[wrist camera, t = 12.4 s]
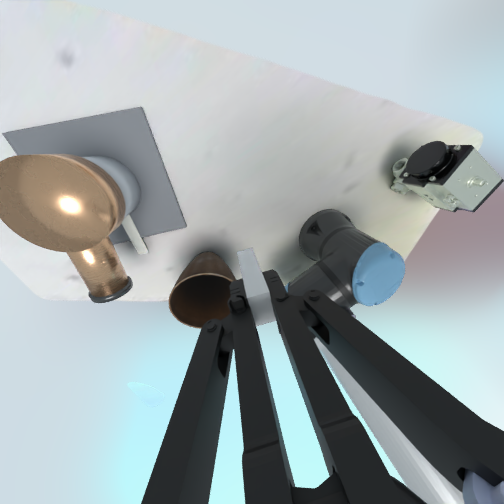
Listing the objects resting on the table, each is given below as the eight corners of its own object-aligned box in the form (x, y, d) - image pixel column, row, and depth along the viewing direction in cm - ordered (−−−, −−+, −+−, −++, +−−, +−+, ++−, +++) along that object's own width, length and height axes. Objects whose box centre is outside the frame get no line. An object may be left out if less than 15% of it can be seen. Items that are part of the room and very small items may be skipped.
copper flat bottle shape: (8, 157, 28) (-47, 159, 22) (107, 150, 29) (81, 150, 24) (85, 284, 39) (62, 309, 33) (154, 274, 41) (143, 296, 35)
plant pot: (244, 270, 57) (254, 309, 43) (201, 293, 58) (197, 338, 44) (217, 229, 50) (218, 260, 36) (168, 256, 51) (151, 297, 37)
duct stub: (191, 240, 50) (187, 261, 40) (96, 263, 48) (68, 291, 39) (142, 107, 36) (117, 93, 27) (7, 133, 35) (-72, 127, 25)
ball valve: (368, 174, 50) (437, 186, 35) (391, 141, 47) (478, 137, 32) (409, 203, 57) (483, 224, 41) (431, 175, 54) (520, 186, 38)
